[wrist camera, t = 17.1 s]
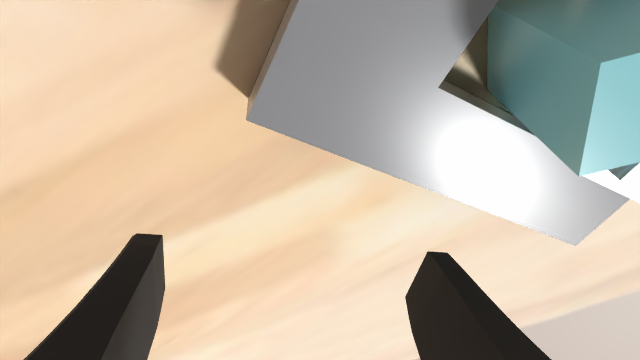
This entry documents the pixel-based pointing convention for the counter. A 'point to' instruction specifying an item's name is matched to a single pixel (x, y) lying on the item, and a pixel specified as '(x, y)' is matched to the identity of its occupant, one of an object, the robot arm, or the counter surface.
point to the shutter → (620, 180)
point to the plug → (571, 76)
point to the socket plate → (416, 110)
